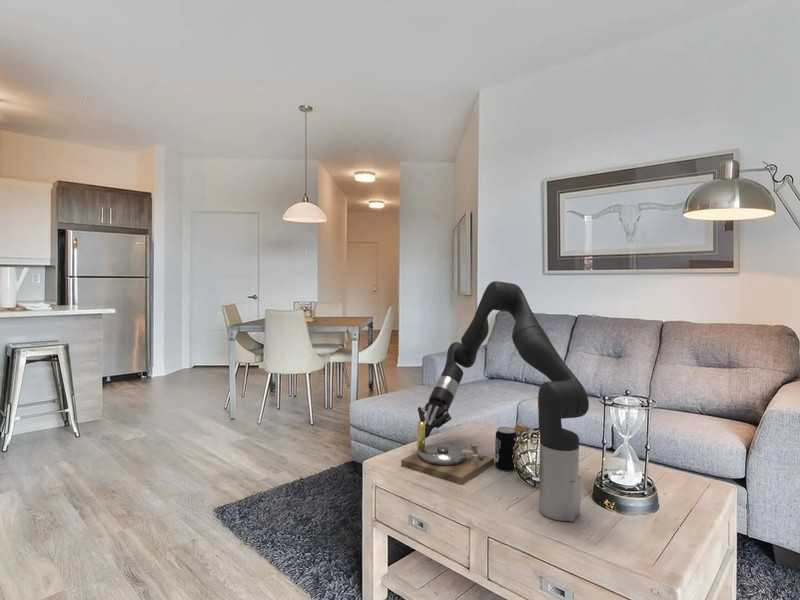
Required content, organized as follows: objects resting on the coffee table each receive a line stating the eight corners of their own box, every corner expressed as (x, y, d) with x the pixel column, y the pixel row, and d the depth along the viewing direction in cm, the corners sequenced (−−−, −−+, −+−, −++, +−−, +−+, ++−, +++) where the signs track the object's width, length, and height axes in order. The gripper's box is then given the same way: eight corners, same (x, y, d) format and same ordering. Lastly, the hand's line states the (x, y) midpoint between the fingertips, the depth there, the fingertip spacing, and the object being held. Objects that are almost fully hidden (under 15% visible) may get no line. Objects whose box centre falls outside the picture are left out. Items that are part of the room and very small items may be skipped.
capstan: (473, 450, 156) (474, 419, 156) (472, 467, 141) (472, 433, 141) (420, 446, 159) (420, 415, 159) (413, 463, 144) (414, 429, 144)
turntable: (494, 464, 150) (494, 448, 150) (462, 484, 134) (462, 467, 134) (436, 448, 164) (436, 434, 164) (401, 465, 148) (401, 450, 148)
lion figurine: (513, 451, 162) (514, 425, 162) (514, 446, 167) (515, 421, 167) (558, 457, 158) (559, 430, 157) (558, 451, 163) (559, 425, 162)
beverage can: (511, 473, 143) (511, 434, 143) (491, 468, 147) (492, 430, 147) (519, 466, 148) (520, 429, 148) (500, 461, 152) (501, 425, 152)
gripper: (424, 383, 164) (402, 426, 155) (457, 388, 156) (436, 434, 147) (432, 395, 168) (411, 438, 159) (464, 401, 160) (445, 446, 151)
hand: (423, 436), depth 153 cm, fingers closed
